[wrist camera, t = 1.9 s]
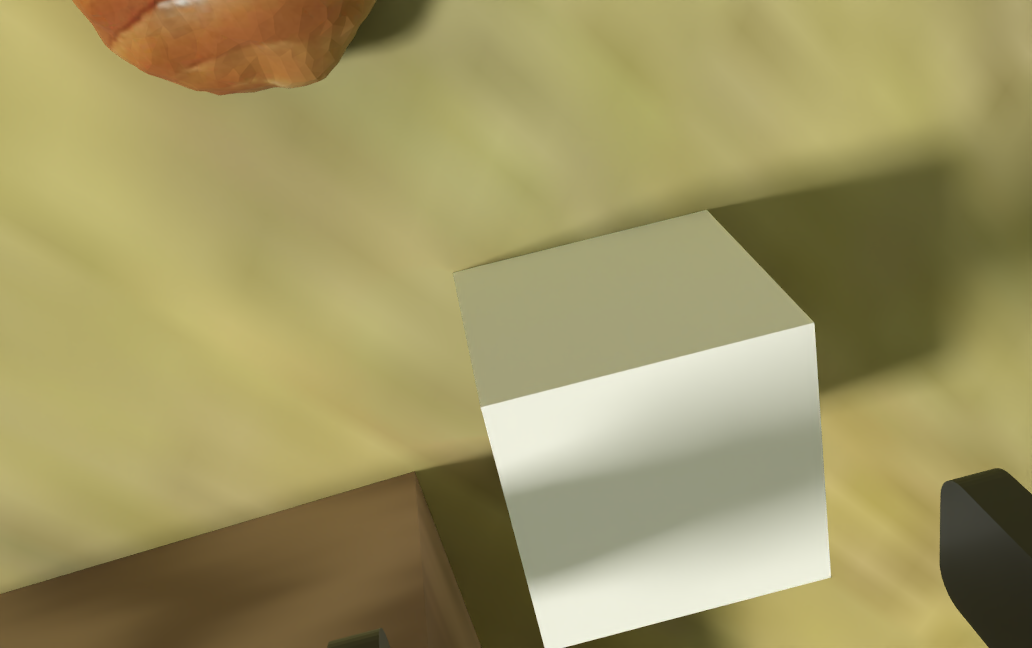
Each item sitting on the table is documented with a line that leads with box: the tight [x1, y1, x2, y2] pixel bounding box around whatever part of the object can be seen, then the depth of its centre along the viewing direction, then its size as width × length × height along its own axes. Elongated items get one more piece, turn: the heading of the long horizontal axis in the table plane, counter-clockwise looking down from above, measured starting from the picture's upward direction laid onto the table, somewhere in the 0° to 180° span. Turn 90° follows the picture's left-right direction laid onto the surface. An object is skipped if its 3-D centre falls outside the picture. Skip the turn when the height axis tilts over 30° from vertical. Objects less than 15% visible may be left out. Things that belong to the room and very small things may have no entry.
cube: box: [453, 210, 831, 648], centre depth 17 cm, size 5×5×5 cm
